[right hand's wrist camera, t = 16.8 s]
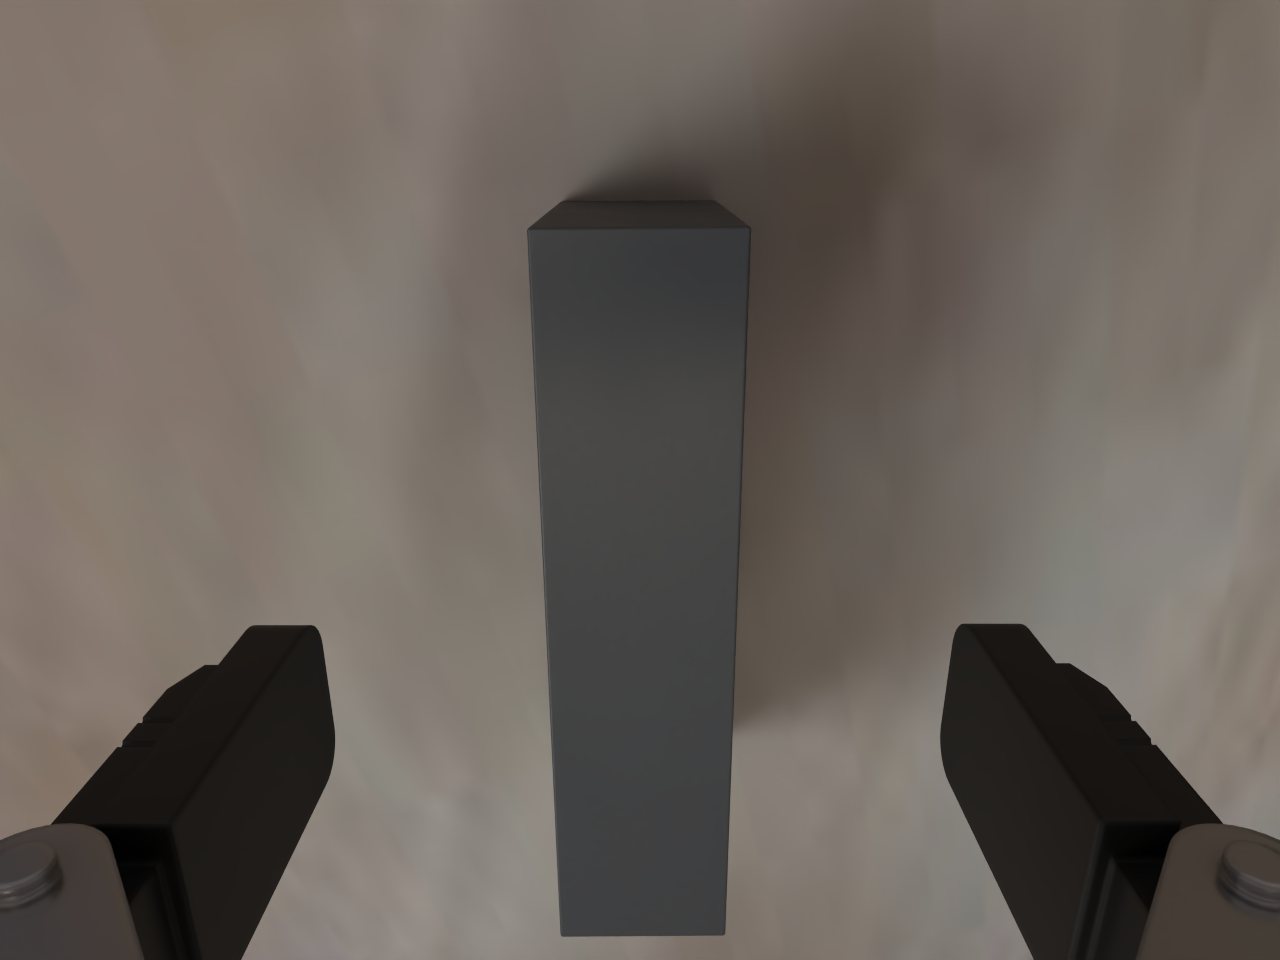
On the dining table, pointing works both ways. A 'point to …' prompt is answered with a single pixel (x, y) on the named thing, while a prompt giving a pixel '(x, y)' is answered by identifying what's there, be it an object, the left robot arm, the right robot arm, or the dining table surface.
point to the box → (640, 551)
